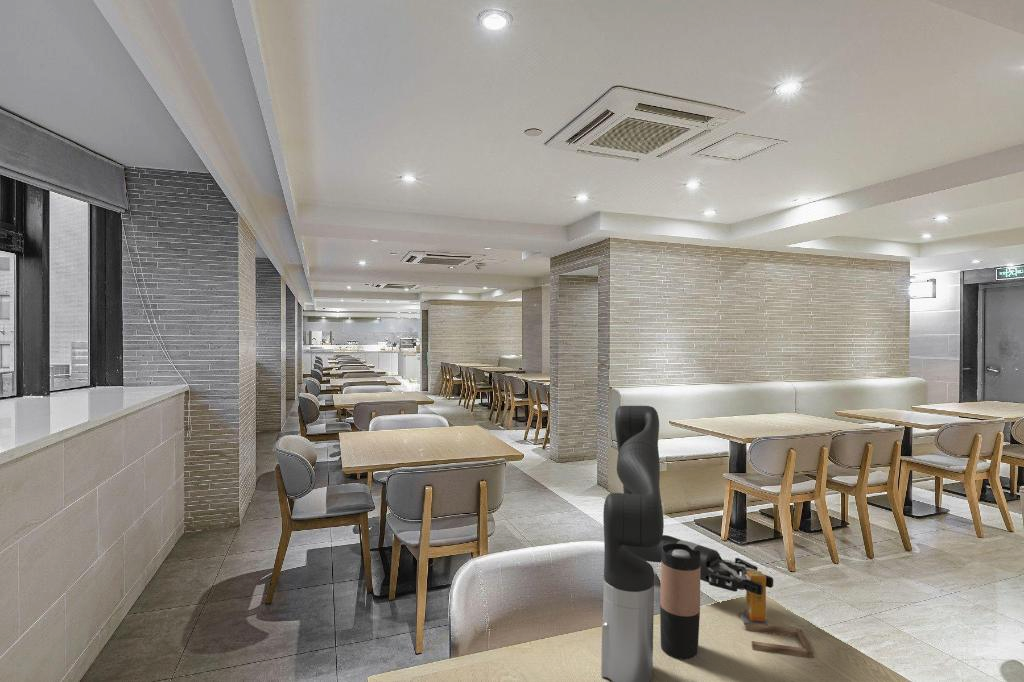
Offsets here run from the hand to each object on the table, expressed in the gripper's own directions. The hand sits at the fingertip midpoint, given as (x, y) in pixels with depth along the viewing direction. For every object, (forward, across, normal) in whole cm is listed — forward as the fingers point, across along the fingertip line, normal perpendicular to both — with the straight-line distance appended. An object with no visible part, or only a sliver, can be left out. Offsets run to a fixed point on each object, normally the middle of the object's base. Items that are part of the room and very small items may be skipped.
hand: (767, 586), depth 117 cm
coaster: (-3, 0, +9) cm, 9 cm away
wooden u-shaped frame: (+4, -5, +9) cm, 10 cm away
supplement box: (-2, 0, +8) cm, 9 cm away
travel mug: (-8, -22, +9) cm, 25 cm away
